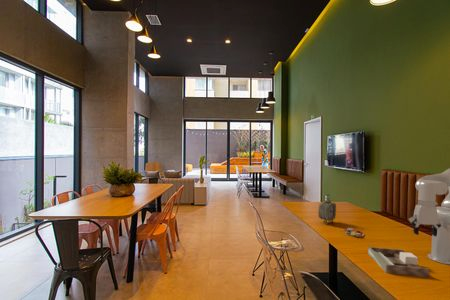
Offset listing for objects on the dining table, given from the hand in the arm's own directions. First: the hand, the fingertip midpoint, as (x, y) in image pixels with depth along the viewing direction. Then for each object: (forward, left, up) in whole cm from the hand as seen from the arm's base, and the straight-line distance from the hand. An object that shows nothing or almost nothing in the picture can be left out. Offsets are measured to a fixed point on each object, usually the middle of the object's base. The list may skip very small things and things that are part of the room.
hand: (425, 234), depth 137 cm
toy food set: (+21, -46, -19) cm, 54 cm away
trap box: (+14, 0, -18) cm, 23 cm away
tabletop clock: (+35, -70, -18) cm, 81 cm away
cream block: (+8, 0, -16) cm, 18 cm away
